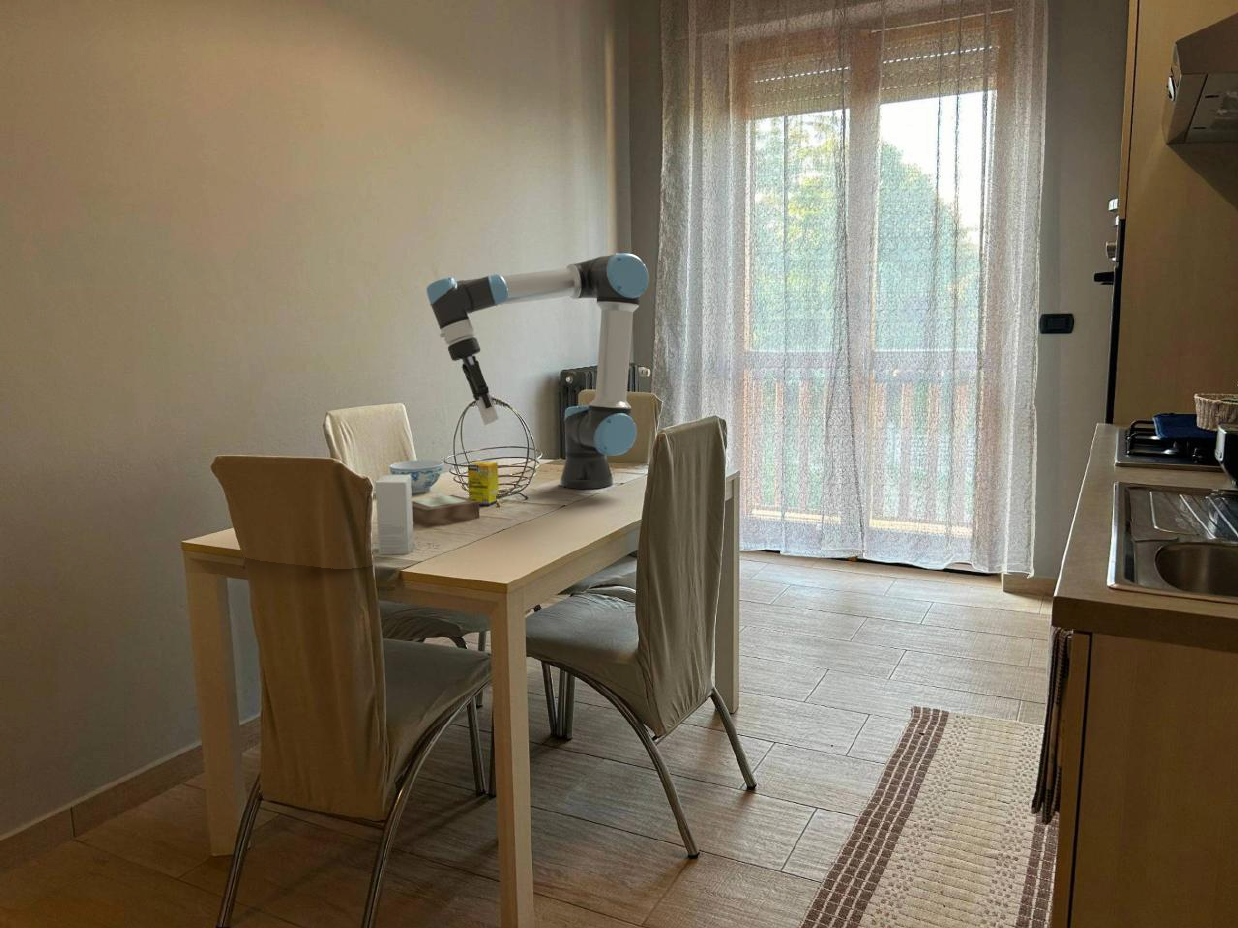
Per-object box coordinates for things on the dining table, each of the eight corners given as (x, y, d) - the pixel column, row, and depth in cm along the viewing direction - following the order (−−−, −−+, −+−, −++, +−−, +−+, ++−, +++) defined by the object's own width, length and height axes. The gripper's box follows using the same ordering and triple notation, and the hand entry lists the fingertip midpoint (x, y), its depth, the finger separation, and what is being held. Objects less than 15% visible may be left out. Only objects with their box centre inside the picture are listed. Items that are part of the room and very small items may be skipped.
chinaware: (404, 498, 253) (402, 470, 251) (382, 490, 265) (380, 464, 263) (453, 491, 261) (452, 464, 260) (430, 484, 273) (429, 458, 272)
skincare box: (385, 545, 199) (381, 474, 197) (416, 544, 199) (412, 473, 197) (378, 555, 191) (373, 481, 188) (410, 554, 191) (406, 480, 189)
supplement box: (468, 505, 241) (466, 464, 239) (479, 501, 246) (477, 460, 244) (489, 506, 239) (487, 465, 237) (499, 502, 244) (497, 461, 242)
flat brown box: (453, 510, 235) (452, 493, 234) (479, 517, 225) (478, 500, 224) (402, 518, 226) (401, 501, 226) (427, 526, 216) (426, 509, 216)
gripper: (445, 352, 239) (474, 429, 240) (447, 339, 214) (480, 425, 216) (473, 342, 240) (501, 419, 242) (478, 329, 216) (510, 414, 217)
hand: (491, 422), depth 229 cm, fingers open, 13 cm apart
